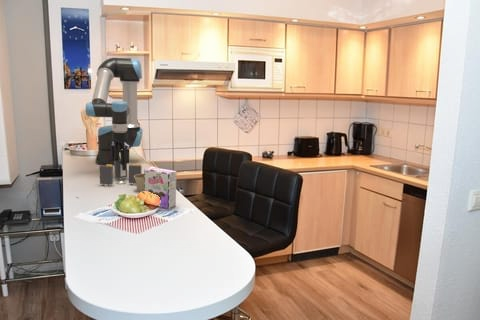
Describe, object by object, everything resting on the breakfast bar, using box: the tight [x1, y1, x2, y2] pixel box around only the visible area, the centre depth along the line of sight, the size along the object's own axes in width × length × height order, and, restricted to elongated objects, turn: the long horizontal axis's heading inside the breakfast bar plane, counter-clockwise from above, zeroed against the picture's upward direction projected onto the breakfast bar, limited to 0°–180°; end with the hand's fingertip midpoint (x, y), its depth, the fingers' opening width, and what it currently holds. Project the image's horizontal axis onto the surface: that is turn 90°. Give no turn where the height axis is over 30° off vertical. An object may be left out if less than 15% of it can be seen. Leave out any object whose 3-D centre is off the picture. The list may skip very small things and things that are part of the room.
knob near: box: [113, 160, 128, 180], centre depth 217 cm, size 2×6×11 cm, turn 117°
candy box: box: [143, 166, 177, 210], centre depth 183 cm, size 14×6×16 cm, turn 62°
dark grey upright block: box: [99, 164, 114, 187], centre depth 204 cm, size 2×6×11 cm, turn 86°
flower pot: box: [134, 173, 144, 193], centre depth 200 cm, size 9×9×9 cm
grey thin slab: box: [128, 163, 143, 186], centre depth 208 cm, size 2×6×11 cm, turn 86°
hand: (120, 175), depth 218 cm, fingers closed on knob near, 4 cm apart
